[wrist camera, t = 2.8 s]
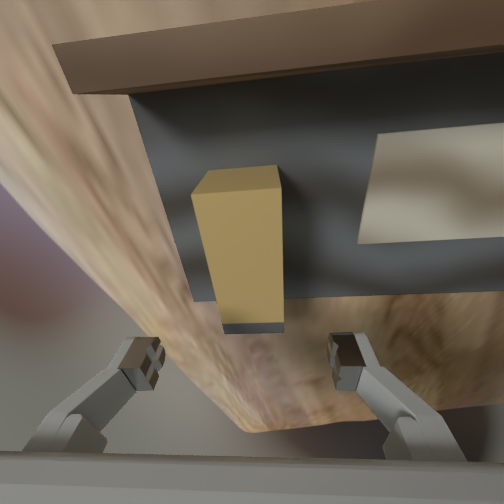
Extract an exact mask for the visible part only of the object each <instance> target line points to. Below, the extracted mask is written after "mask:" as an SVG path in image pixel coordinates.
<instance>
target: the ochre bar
mask: <svg viewBox="0 0 504 504" xmlns="http://www.w3.org/2000/svg"><path fill="white" fill-rule="evenodd" d="M191 198H192V202H193V206H194V210H195V214H196V218H197V222H198V227H199V231H200V235H201V239H202V243H203V247H204V251H205V255H206V259H207V264H208V268H209V272H210V276H211V280H212V284H213V288H214V292H215V296H216V300H217V305H218V309H219V313H220V317H221V321H222V325H223V329H224V333H225V334H254V333H284V294H283V242H282V190H281V183H280V178H279V173H278V168H277V165H270V166H257V167H245V168H233V169H221V170H209V171H208V172H207V173H206V174H205V176H204V177H203V179H202V180H201V181H200V183H199V184H198V185H197V187H196V188H195V189H194V191H193V192H192V194H191Z"/></svg>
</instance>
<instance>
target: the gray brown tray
mask: <svg viewBox="0 0 504 504" xmlns="http://www.w3.org/2000/svg"><path fill="white" fill-rule="evenodd" d="M52 47H53V49H54V51H55V54H56V56H57V58H58V61H59V63H60V65H61V68H62V70H63V72H64V75H65V77H66V79H67V82H68V84H69V86H70V89H71V91H72V93H73V94H121V95H128V96H129V99H130V102H131V105H132V108H133V111H134V115H135V118H136V121H137V124H138V127H139V130H140V133H141V137H142V140H143V143H144V146H145V149H146V152H147V155H148V158H149V162H150V165H151V168H152V171H153V174H154V177H155V180H156V184H157V187H158V190H159V193H160V196H161V199H162V202H163V205H164V209H165V212H166V215H167V218H168V221H169V224H170V227H171V231H172V234H173V237H174V240H175V243H176V246H177V249H178V252H179V256H180V259H181V262H182V265H183V268H184V271H185V274H186V278H187V281H188V284H189V287H190V290H191V293H192V296H193V299H194V302H199V301H217V300H216V296H215V292H214V288H213V284H212V280H211V276H210V272H209V268H208V264H207V259H206V255H205V251H204V247H203V243H202V239H201V235H200V231H199V227H198V222H197V218H196V214H195V210H194V206H193V202H192V198H191V194H192V192H193V191H194V189H195V188H196V187H197V185H198V184H199V183H200V181H201V180H202V179H203V177H204V176H205V174H206V173H207V172H208V171H209V170H221V169H233V168H245V167H257V166H270V165H277V168H278V173H279V178H280V183H281V190H282V242H283V294H284V299H286V298H314V297H343V296H372V295H401V294H429V293H458V292H487V291H504V0H377V1H370V2H362V3H355V4H348V5H340V6H333V7H325V8H318V9H311V10H303V11H296V12H289V13H281V14H274V15H267V16H259V17H252V18H245V19H237V20H230V21H222V22H215V23H208V24H200V25H193V26H186V27H178V28H171V29H164V30H156V31H149V32H141V33H134V34H127V35H119V36H112V37H105V38H97V39H90V40H83V41H75V42H68V43H61V44H53V45H52Z"/></svg>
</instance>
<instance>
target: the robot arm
mask: <svg viewBox="0 0 504 504" xmlns="http://www.w3.org/2000/svg"><path fill="white" fill-rule="evenodd" d="M160 342H161V341H160V339H159V337H127V338H125V339H124V340H123V342H122V344H121V345H120V347H119V349H118V350H117V352H116V354H115V355H114V357H113V359H112V361H111V362H110V364H109V366H108V368H107V369H103V370H102V371H101V372H99V373H98V374H97V375H96V376H94V377H93V378H92V379H91V380H89V381H88V382H87V383H85V384H84V385H83V386H82V387H81V388H79V389H78V390H77V391H76V392H74V393H73V394H72V395H70V396H69V397H68V398H67V399H65V400H64V401H63V402H62V403H60V404H59V405H58V406H57V407H55V408H54V409H53V410H51V411H50V412H49V413H48V414H47V416H46V417H45V419H44V420H43V421H42V423H41V424H40V426H39V427H38V429H37V430H36V431H35V433H34V434H33V436H32V437H31V439H30V440H29V442H28V443H27V445H26V446H25V447H24V449H23V450H22V451H0V504H504V463H495V462H467V460H466V458H465V456H464V455H463V453H462V451H461V449H460V448H459V446H458V444H457V442H456V440H455V439H454V437H453V435H452V433H451V432H450V430H449V428H448V426H447V425H446V423H445V421H444V419H443V417H442V416H441V415H440V414H438V413H437V412H436V411H435V410H434V409H433V408H432V407H430V406H429V405H428V404H427V403H426V402H425V401H423V400H422V399H421V398H420V397H419V396H418V395H416V394H415V393H414V392H413V391H412V390H411V389H409V388H408V387H407V386H406V385H405V384H404V383H402V382H401V381H400V380H399V379H398V378H397V377H395V376H394V375H393V374H392V373H391V372H390V371H388V370H387V369H386V368H385V367H380V364H379V362H378V360H377V358H376V355H375V353H374V351H373V349H372V347H371V344H370V342H369V340H368V338H367V335H366V334H365V333H364V332H354V333H352V332H343V333H330V334H329V342H330V343H328V345H327V355H328V361H329V365H330V366H331V367H332V368H333V372H332V377H333V381H334V385H335V389H336V390H347V391H356V393H357V394H358V395H359V396H360V397H361V399H362V400H363V401H364V402H365V403H366V404H367V406H368V407H369V408H370V409H371V410H372V412H373V413H374V414H375V415H376V416H377V418H378V419H379V420H380V421H381V422H382V424H383V425H384V426H385V427H386V428H387V429H388V431H389V432H390V434H389V436H388V438H387V440H386V441H385V443H384V445H383V450H384V453H385V456H386V459H387V460H366V459H325V458H282V457H241V456H198V455H197V456H194V455H157V454H156V455H154V454H113V453H112V454H111V453H103V451H104V448H105V446H106V444H107V439H106V437H104V436H103V435H102V434H101V433H100V431H101V430H102V429H103V428H104V427H105V426H106V425H107V424H108V423H109V421H110V420H111V419H112V418H113V417H114V416H115V415H116V414H117V413H118V411H119V410H120V409H121V408H122V407H123V406H124V405H125V404H126V402H127V401H128V400H129V399H130V398H131V397H132V396H133V395H134V394H135V393H136V391H147V390H154V388H155V385H156V383H157V380H158V377H159V374H158V371H159V370H160V369H161V368H162V367H163V364H164V361H165V349H164V347H163V346H161V345H160Z"/></svg>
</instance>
